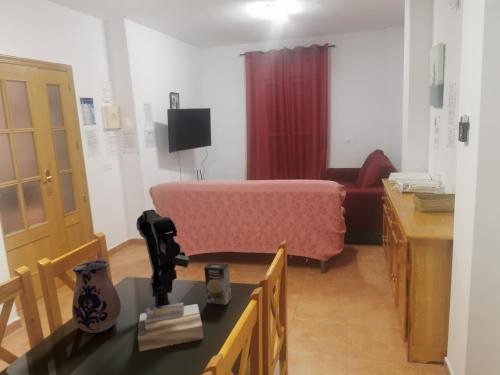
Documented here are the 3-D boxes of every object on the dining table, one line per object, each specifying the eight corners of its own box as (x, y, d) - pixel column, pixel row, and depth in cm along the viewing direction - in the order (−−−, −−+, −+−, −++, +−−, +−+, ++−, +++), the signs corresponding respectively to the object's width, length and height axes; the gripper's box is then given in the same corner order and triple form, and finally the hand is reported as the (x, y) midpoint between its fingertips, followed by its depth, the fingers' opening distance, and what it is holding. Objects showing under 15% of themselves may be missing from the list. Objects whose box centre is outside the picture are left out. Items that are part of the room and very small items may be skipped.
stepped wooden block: (140, 337, 141) (138, 315, 139) (200, 325, 145) (198, 304, 144) (139, 351, 131) (136, 328, 130) (203, 338, 136) (201, 316, 135)
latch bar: (146, 319, 142) (145, 311, 142) (146, 315, 145) (145, 308, 145) (184, 312, 145) (183, 305, 145) (183, 309, 148) (183, 301, 148)
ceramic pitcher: (69, 342, 141) (58, 277, 137) (84, 315, 161) (76, 258, 157) (118, 335, 143) (110, 271, 139) (127, 309, 164) (120, 253, 160)
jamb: (141, 325, 149) (140, 313, 148) (198, 315, 154) (197, 303, 153) (140, 336, 141) (139, 323, 140) (200, 325, 146) (199, 312, 145)
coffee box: (206, 303, 164) (203, 267, 161) (212, 296, 170) (209, 262, 167) (226, 305, 161) (223, 268, 158) (232, 298, 167) (229, 263, 164)
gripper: (188, 255, 140) (192, 295, 142) (184, 241, 158) (188, 277, 160) (157, 259, 137) (161, 300, 140) (157, 244, 155) (161, 281, 158)
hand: (169, 289), depth 149 cm, fingers open, 7 cm apart
